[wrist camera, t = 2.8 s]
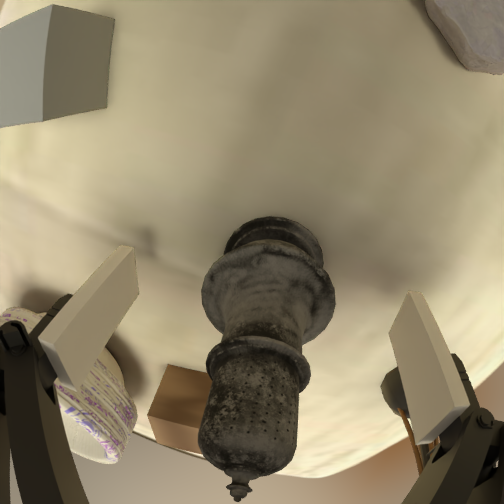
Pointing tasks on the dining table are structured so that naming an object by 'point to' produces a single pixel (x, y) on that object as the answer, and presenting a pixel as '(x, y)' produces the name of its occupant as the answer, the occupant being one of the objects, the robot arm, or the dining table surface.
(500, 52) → the stone block
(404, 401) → the wooden tabletop sculpture
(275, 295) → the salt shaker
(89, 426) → the paper bowls
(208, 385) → the walnut cube
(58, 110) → the slate cube
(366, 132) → the dining table surface
